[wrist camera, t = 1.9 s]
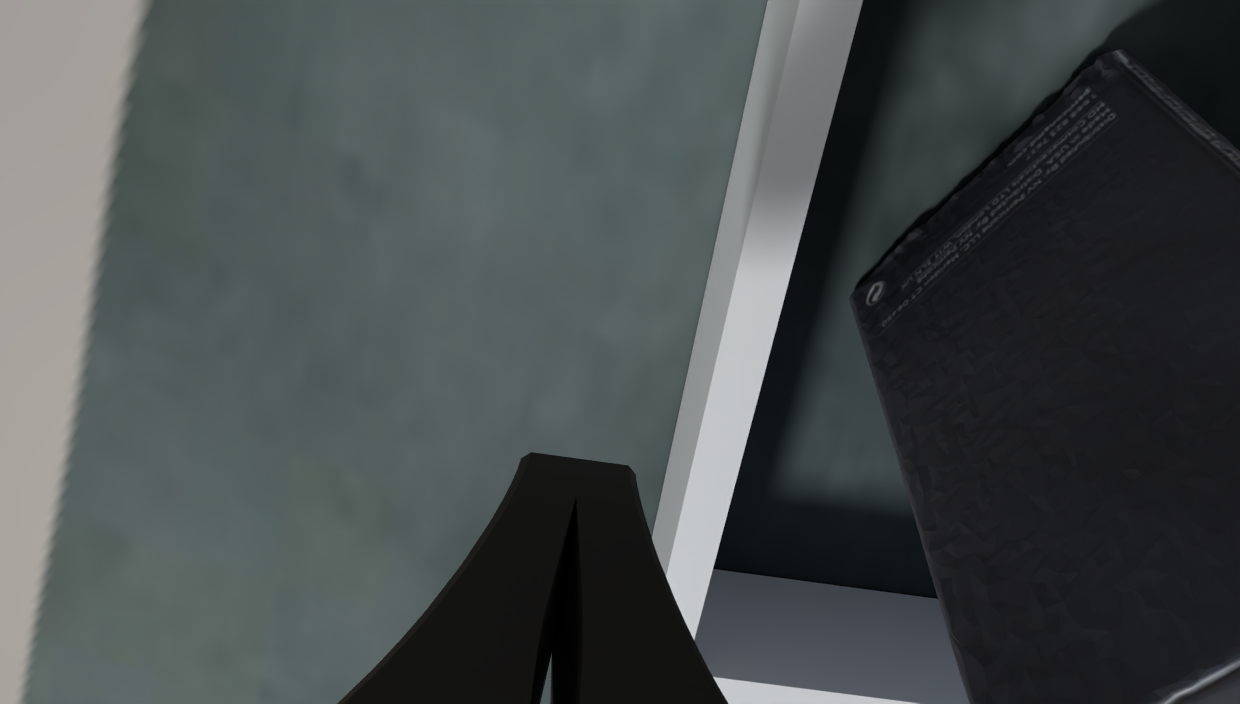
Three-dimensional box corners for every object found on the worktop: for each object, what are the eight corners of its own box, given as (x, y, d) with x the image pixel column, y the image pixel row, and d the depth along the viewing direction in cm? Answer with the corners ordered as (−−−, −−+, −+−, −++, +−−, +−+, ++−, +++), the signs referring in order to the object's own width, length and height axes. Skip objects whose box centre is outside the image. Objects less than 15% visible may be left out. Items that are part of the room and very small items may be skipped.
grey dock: (1318, 675, 24) (1396, 791, 21) (641, 586, 23) (638, 695, 20) (1840, -19, 15) (2071, 35, 13) (809, -192, 15) (839, -170, 12)
